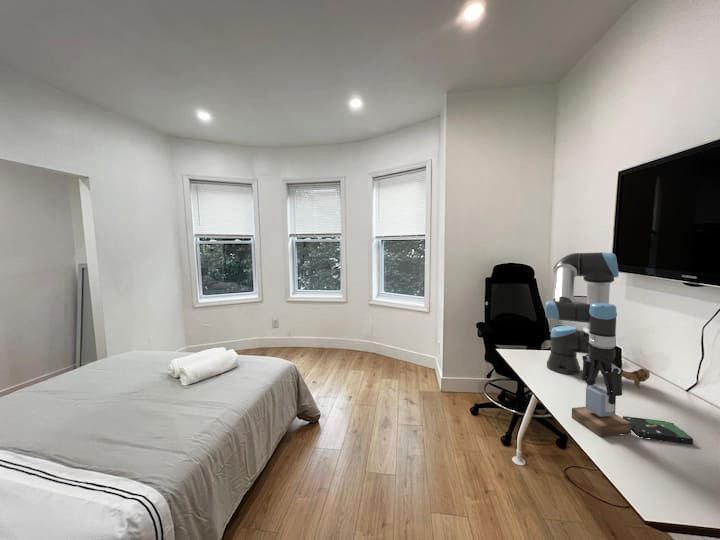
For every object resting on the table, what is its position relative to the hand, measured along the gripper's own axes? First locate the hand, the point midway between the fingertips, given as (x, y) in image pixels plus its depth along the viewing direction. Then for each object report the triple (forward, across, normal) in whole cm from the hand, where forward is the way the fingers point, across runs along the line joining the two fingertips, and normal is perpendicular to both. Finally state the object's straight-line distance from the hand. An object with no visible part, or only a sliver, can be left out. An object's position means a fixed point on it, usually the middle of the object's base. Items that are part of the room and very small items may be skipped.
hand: (600, 406), depth 107 cm
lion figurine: (+8, -26, +43) cm, 51 cm away
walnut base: (+7, 0, 0) cm, 7 cm away
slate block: (+2, 0, 0) cm, 2 cm away
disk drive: (+8, +7, +15) cm, 18 cm away
